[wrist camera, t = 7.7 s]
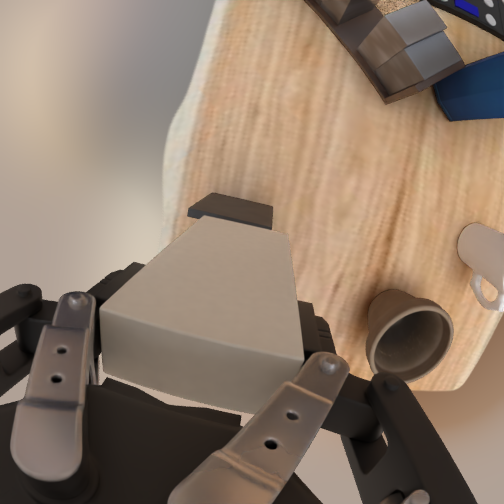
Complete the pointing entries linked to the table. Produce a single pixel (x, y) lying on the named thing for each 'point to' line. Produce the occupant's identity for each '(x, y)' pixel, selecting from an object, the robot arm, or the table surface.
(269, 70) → the table surface
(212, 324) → the white book
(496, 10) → the remote control
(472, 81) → the book
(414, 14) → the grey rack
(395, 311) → the flower pot
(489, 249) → the mug
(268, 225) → the dark book holder
